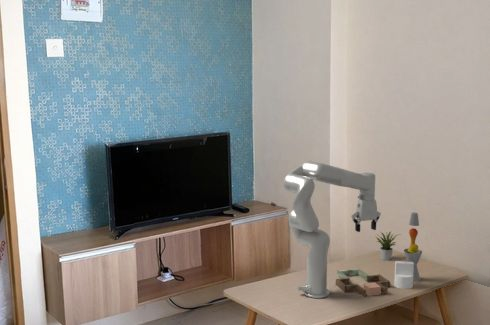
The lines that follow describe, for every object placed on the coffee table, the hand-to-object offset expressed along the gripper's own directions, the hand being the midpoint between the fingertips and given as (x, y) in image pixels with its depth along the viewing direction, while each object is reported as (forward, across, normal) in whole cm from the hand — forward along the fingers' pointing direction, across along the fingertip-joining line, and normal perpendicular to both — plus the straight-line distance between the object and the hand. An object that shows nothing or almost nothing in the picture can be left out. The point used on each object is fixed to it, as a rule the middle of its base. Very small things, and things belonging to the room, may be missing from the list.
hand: (365, 230), depth 291 cm
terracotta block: (+26, -7, -16) cm, 32 cm away
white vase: (+26, +13, -15) cm, 33 cm away
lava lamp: (+26, +23, -9) cm, 36 cm away
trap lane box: (+26, -5, -5) cm, 27 cm away
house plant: (+26, +33, +22) cm, 48 cm away
